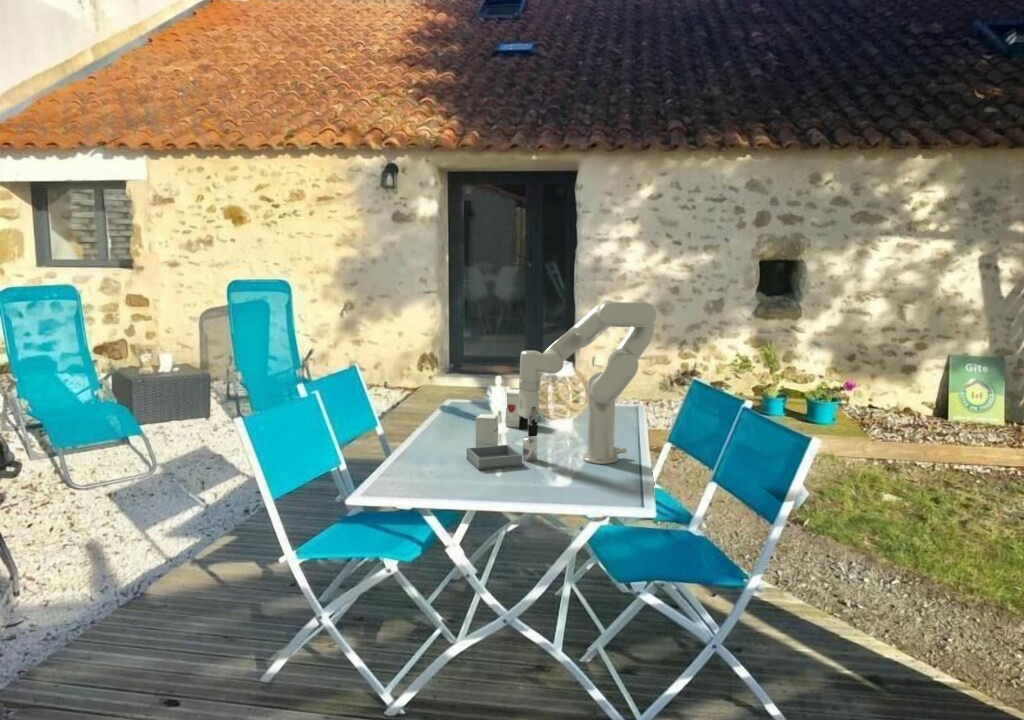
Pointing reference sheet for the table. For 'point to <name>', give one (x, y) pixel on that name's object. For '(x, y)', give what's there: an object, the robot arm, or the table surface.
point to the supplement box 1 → (486, 430)
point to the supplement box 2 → (512, 408)
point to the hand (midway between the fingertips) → (527, 432)
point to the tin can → (530, 448)
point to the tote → (494, 457)
